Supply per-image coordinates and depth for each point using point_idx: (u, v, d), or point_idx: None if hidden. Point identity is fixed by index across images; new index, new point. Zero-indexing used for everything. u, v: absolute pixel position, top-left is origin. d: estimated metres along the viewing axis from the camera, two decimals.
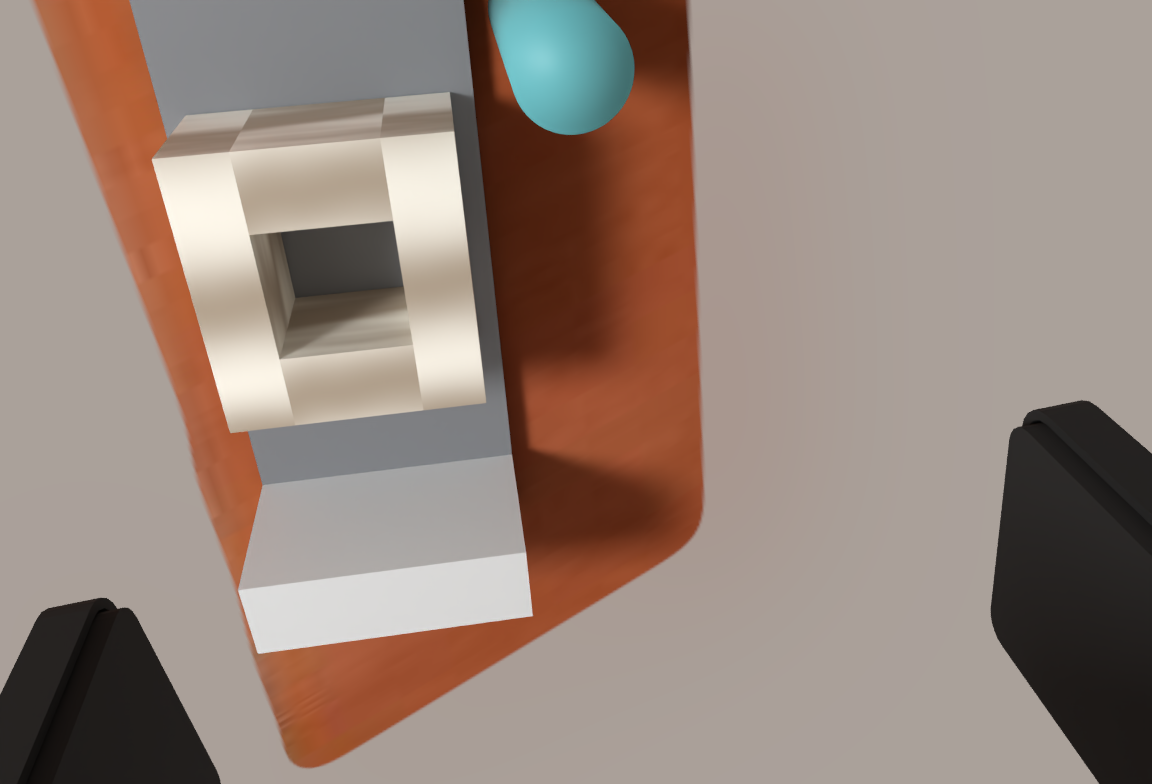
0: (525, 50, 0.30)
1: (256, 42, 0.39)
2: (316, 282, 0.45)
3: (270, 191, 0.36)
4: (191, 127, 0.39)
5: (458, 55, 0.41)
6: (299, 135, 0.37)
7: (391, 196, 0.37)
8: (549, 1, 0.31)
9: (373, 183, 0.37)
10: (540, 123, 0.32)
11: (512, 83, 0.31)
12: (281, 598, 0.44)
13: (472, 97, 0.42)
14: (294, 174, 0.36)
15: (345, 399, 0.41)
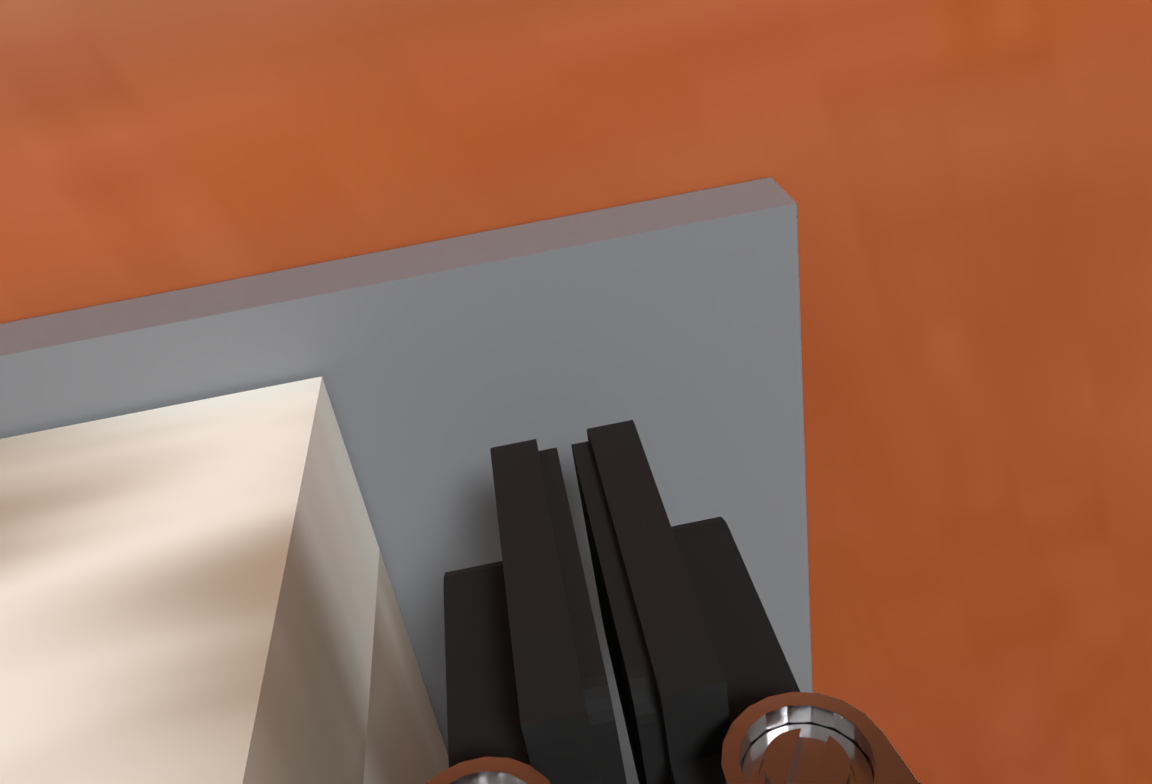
0: None
1: (580, 545, 0.14)
2: None
3: None
4: (320, 516, 0.10)
5: None
6: None
7: None
8: None
9: None
10: None
11: None
12: None
13: None
14: None
15: None
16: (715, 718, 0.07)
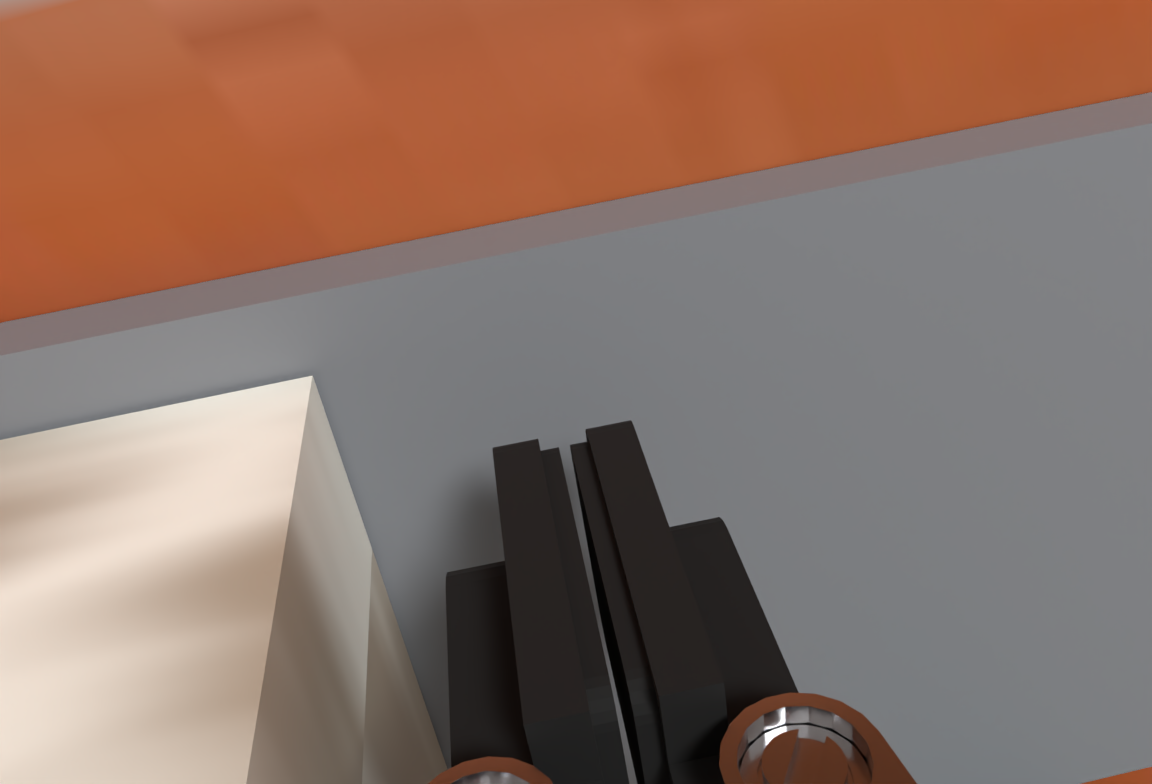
0: None
1: (1049, 437, 0.14)
2: None
3: None
4: (314, 517, 0.10)
5: None
6: None
7: None
8: None
9: None
10: None
11: None
12: None
13: None
14: None
15: None
16: (713, 718, 0.07)
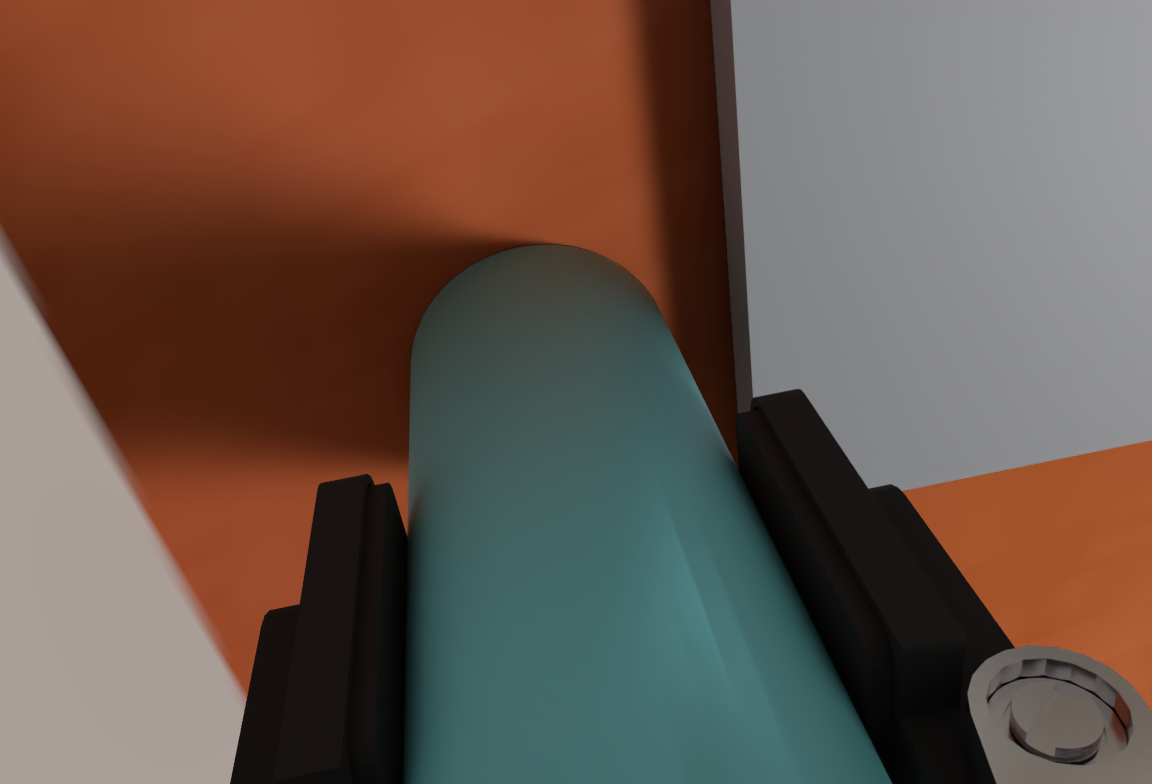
0: None
1: None
2: None
3: None
4: None
5: (777, 264, 0.13)
6: None
7: None
8: None
9: None
10: None
11: None
12: None
13: (743, 145, 0.13)
14: None
15: None
16: (949, 672, 0.07)
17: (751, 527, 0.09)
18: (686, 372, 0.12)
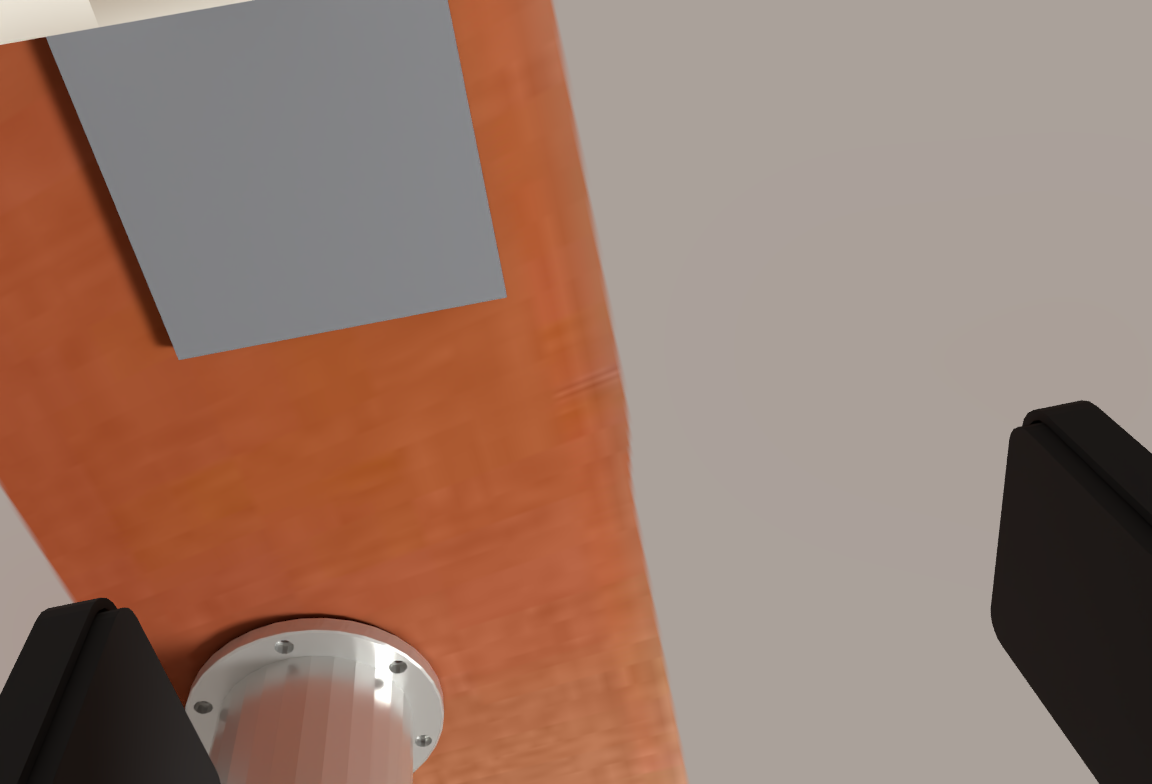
0: None
1: (374, 241, 0.36)
2: None
3: None
4: None
5: (147, 252, 0.35)
6: None
7: None
8: None
9: None
10: None
11: None
12: None
13: (118, 209, 0.35)
14: None
15: None
16: None
17: None
18: None
